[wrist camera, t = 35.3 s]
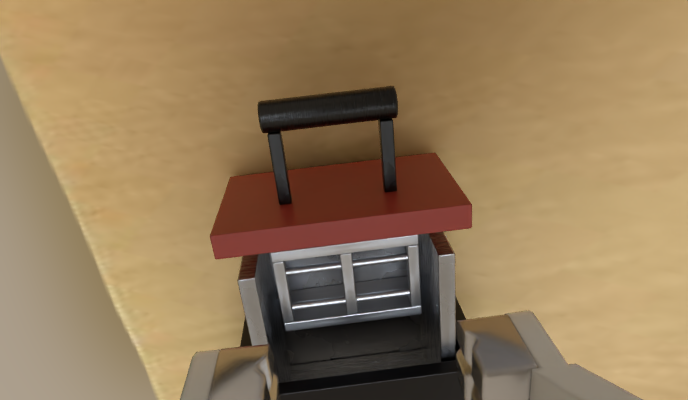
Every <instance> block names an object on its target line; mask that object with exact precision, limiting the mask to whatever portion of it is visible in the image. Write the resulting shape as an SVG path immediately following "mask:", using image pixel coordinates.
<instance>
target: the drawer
mask: <svg viewBox="0 0 688 400" xmlns="http://www.w3.org/2000/svg"><path fill="white" fill-rule="evenodd" d="M397 115H398V101H397V94H396V90H395V87H394V86H388V87H379V88H370V89H362V90H353V91H344V92H336V93H327V94H318V95H310V96H301V97H292V98H284V99H275V100H266V101H259V102H258V117H259V123H260V128H261V131H262V132H263V133H268V135H267V136H268V142H269V148H270V154H271V160H272V166H273V172H268V173H259V174H251V175H242V176H234V177H230V180H229V182H228V185H227V188H226V191H225V194H224V197H223V200H222V203H221V206H220V208H219V211H218V214H217V217H216V220H215V223H214V226H213V229H212V231H211V234H210V239H211V244H212V248H213V252H214V256H215V259H223V258H231V257H239V256H243V257H242V261H241V266H240V271H239V276H238V280H237V281H238V285H239V290H240V294H241V299H242V303H243V308H244V312H245V317H246V321H247V326H248V330H249V334H250V339H251V343H252V346H255V345H265V344H270V346H271V348H272V352H273V357H274V369H273V373H274V374H275V375H277V376H278V382H279V383H283V382H291V381H298V380H306V379H314V378H322V377H329V376H337V375H345V374H353V373H361V372H368V371H376V370H384V369H392V368H400V367H407V366H415V365H423V364H431V363H439V362H446V361H454V360H456V314H455V253H454V251H453V249H452V247H451V245H450V243H449V242H448V240H447V238H446V236H445V234H444V232H443V231H452V230H460V229H468V228H472V204H471V203H470V201H469V200H468V198H467V197H466V195H465V194H464V193H463V191H462V190H461V188H460V187H459V185H458V184H457V183H456V181H455V180H454V178H453V177H452V176H451V174H450V173H449V171H448V170H447V168H446V167H445V166H444V164H443V163H442V161H441V160H440V158H439V157H438V156H437V154H436V153H428V154H419V155H411V156H402V157H395V147H394V130H393V120H392V118H396V117H397ZM374 120H378V125H379V138H380V152H381V159H377V160H369V161H360V162H352V163H343V164H335V165H327V166H318V167H310V168H301V169H293V170H287V164H286V158H285V151H284V145H283V139H282V132H281V131H288V130H297V129H305V128H314V127H323V126H331V125H340V124H348V123H357V122H365V121H374ZM411 235H418V237H419V244H418V245H419V260H420V281H421V303H422V304H421V306H422V314H419V315H412V316H404V317H396V318H388V319H381V320H373V321H365V322H357V323H350V324H342V325H334V326H326V327H319V328H311V329H303V330H295V331H288V332H286V331H285V328H284V323H283V318H282V313H281V308H280V302H279V297H278V292H277V287H276V281H275V276H274V271H273V266H272V261H271V255H270V253H272V252H280V251H288V250H296V249H305V248H313V247H321V246H329V245H337V244H345V243H354V242H362V241H370V240H378V239H386V238H394V237H403V236H411ZM401 253H406V246H402V247H394V248H386V249H378V250H370V251H362V252H354V253H352V260H353V259H361V258H369V257H377V256H385V255H393V254H401ZM338 261H341V260H340V254H338V255H330V256H323V257H315V258H307V259H299V260H291V261H285V264H286V268H290V267H298V266H306V265H314V264H322V263H330V262H338ZM353 271H354V280H355V283H358V282H366V281H373V280H381V279H389V278H397V277H405V276H408V275H407V261H400V262H392V263H384V264H376V265H368V266H360V267H353ZM288 281H289V287H290V291H295V290H303V289H311V288H318V287H326V286H334V285H342V284H343V277H342V269H336V270H329V271H321V272H313V273H305V274H297V275H289V276H288Z"/></svg>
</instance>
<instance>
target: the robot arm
mask: <svg viewBox="0 0 688 400" xmlns="http://www.w3.org/2000/svg"><path fill="white" fill-rule="evenodd" d="M456 338H457V341H458V343H459V346H460V349H459V350H458V352H457V353H456V368H457V374H458V381H459V384H460V388H461V392H462V394H463V397H464V400H642V399H641V398H639V397H637V396H635V395H633V394H631V393H629V392H627V391H626V390H624V389H622V388H620V387H618V386H616V385H614V384H613V383H611V382H609V381H607V380H605V379H603V378H601V377H599V376H598V375H596V374H594V373H592V372H590V371H588V370H586V369H585V368H583V367H581V366H579V365H577V364H569V365H568V363H567V362H566V361H565V359H564V358H563V356H562V355H561V353H560V352H559V350H558V349H557V347H556V346H555V344H554V343H553V341H552V340H551V338H550V337H549V335H548V334H547V332H546V331H545V329H544V328H543V326H542V325H541V323H540V322H539V320H538V319H537V318H536V316H535V315H534V313H533V312H531V311H529V310H527V311H521V312H514V313H507V314H505V315H497V316H489V317H482V318H474V319H466V320H459V321H457V323H456ZM273 369H274V357H273V352H272V348H271V346H270V344H265V345H255V346H245V347H235V348H225V349H221V350H210V351H200V352H196V353H195V354H194V356H193V357H192V360H191V363H190V367H189V370H188V374H187V377H186V381H185V384H184V388H183V391H182V394H181V398H180V400H281V395H280V387H279V382H278V376H277V375H275V374H274V373H273Z"/></svg>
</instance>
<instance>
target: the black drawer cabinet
mask: <svg viewBox="0 0 688 400" xmlns="http://www.w3.org/2000/svg"><path fill="white" fill-rule="evenodd" d="M455 314H456V323H457V321H459V320H466V318H465V316H464V314H463V311H462V309H461V307H460V305H459V303H458V300H457V298H456V296H455ZM245 346H252V343H251V339H250V334H249V330H248V326H247V321H246V317H245V322H244V328H243V334H242V340H241V346H240V347H245ZM459 349H460V346H459V343H458V341H457V338H456V353H457V352H458V350H459ZM279 387H280V395H281V400H464V397H463V394H462V392H461V388H460V384H459V381H458V374H457V368H456V360H454V361H446V362H439V363H431V364H423V365H415V366H407V367H400V368H392V369H384V370H376V371H368V372H361V373H353V374H345V375H337V376H329V377H322V378H314V379H306V380H298V381H291V382H283V383H279Z"/></svg>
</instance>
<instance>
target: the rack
mask: <svg viewBox="0 0 688 400" xmlns="http://www.w3.org/2000/svg"><path fill="white" fill-rule="evenodd" d="M418 244H419V237H418V235H411V236H403V237H394V238H386V239H378V240H370V241H362V242H354V243H345V244H337V245H329V246H321V247H313V248H305V249H296V250H288V251H280V252H272V253H270V255H271V261H272V266H273V271H274V276H275V281H276V287H277V292H278V297H279V302H280V308H281V313H282V318H283V323H284V328H285V331H286V332H288V331H295V330H303V329H311V328H319V327H326V326H334V325H342V324H350V323H357V322H365V321H373V320H381V319H388V318H396V317H404V316H412V315H419V314H422V306H421V304H422V303H421V281H420V260H419V245H418ZM402 246H406V253H401V254H393V255H385V256H377V257H369V258H361V259H353V260H352V253H354V252H362V251H370V250H378V249H386V248H394V247H402ZM338 254H340V260H341V261H338V262H330V263H322V264H314V265H306V266H298V267H290V268H286V264H285V261H291V260H299V259H307V258H315V257H323V256H330V255H338ZM400 261H407V275H408V276H405V277H397V278H389V279H381V280H373V281H366V282H358V283H355V280H354V271H353V267H360V266H368V265H376V264H384V263H392V262H400ZM336 269H342V277H343V284H342V285H334V286H326V287H318V288H311V289H303V290H295V291H290V287H289V281H288V276H289V275H297V274H305V273H313V272H321V271H329V270H336Z"/></svg>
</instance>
